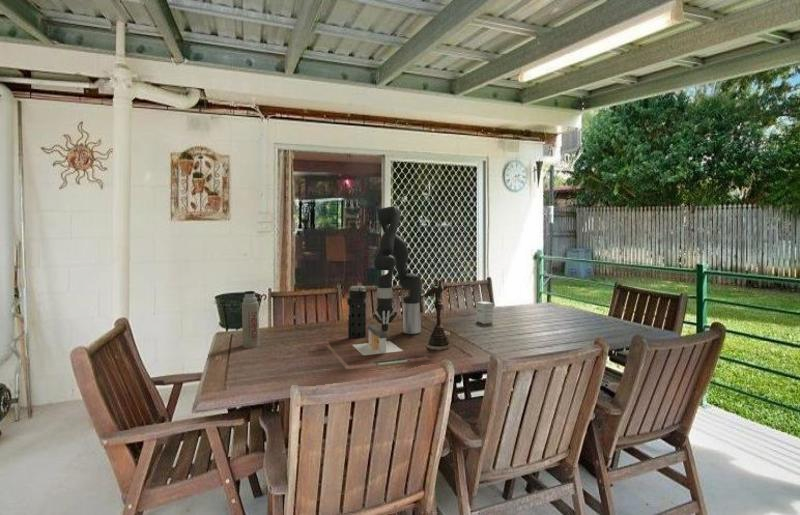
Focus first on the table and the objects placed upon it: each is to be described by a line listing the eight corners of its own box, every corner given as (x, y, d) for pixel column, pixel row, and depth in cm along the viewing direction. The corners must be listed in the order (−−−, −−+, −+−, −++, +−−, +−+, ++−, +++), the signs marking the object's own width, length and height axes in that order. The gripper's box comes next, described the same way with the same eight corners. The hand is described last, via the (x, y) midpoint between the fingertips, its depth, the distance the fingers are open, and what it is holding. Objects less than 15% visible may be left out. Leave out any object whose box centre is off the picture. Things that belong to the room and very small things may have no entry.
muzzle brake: (349, 340, 245) (368, 339, 248) (348, 288, 243) (368, 287, 246) (346, 336, 254) (364, 334, 257) (345, 285, 252) (364, 285, 255)
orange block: (379, 346, 229) (379, 332, 228) (385, 350, 222) (385, 335, 221) (371, 347, 227) (371, 333, 226) (376, 351, 220) (376, 336, 220)
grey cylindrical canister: (476, 321, 290) (476, 301, 289) (486, 320, 294) (486, 301, 292) (483, 324, 284) (483, 303, 283) (493, 322, 287) (493, 302, 286)
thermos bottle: (260, 346, 233) (259, 291, 231) (244, 348, 229) (242, 293, 227) (257, 342, 240) (256, 289, 238) (241, 344, 236) (240, 290, 234)
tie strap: (373, 328, 235) (373, 324, 234) (386, 337, 217) (386, 333, 217) (368, 329, 233) (368, 325, 233) (380, 338, 216) (380, 333, 216)
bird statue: (414, 344, 238) (414, 276, 235) (434, 340, 245) (434, 275, 243) (433, 351, 225) (434, 280, 222) (454, 347, 232) (455, 278, 229)
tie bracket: (389, 343, 238) (389, 327, 238) (403, 353, 221) (403, 336, 220) (352, 347, 231) (352, 331, 230) (363, 358, 213) (363, 340, 213)
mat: (399, 356, 217) (399, 354, 217) (407, 362, 208) (407, 360, 208) (371, 359, 212) (371, 357, 212) (378, 365, 203) (378, 363, 203)
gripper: (394, 294, 231) (394, 328, 232) (369, 296, 226) (369, 330, 227) (400, 296, 224) (400, 331, 225) (374, 298, 219) (374, 334, 221)
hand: (384, 331), depth 226 cm, fingers closed
